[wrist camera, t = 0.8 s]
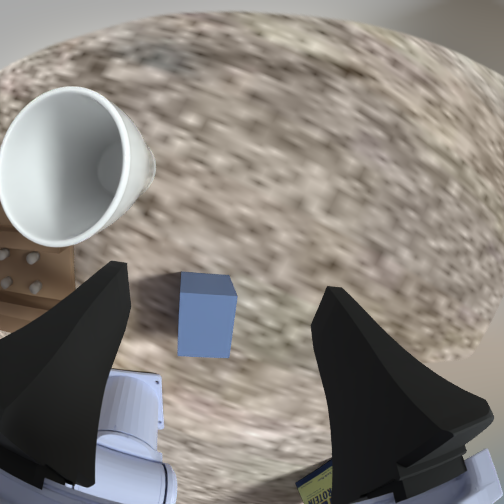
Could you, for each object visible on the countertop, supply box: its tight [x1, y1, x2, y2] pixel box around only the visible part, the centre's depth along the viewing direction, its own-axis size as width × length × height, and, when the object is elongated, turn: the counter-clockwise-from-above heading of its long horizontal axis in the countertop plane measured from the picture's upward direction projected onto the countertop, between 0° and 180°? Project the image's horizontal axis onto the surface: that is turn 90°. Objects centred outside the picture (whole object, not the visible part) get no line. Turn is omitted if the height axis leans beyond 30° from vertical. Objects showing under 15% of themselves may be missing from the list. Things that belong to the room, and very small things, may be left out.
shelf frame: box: [0, 201, 75, 333], centre depth 21 cm, size 16×12×4 cm
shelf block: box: [178, 272, 237, 358], centre depth 26 cm, size 6×4×5 cm
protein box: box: [296, 459, 332, 504], centre depth 36 cm, size 10×16×16 cm
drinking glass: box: [0, 86, 156, 247], centre depth 16 cm, size 7×7×15 cm
